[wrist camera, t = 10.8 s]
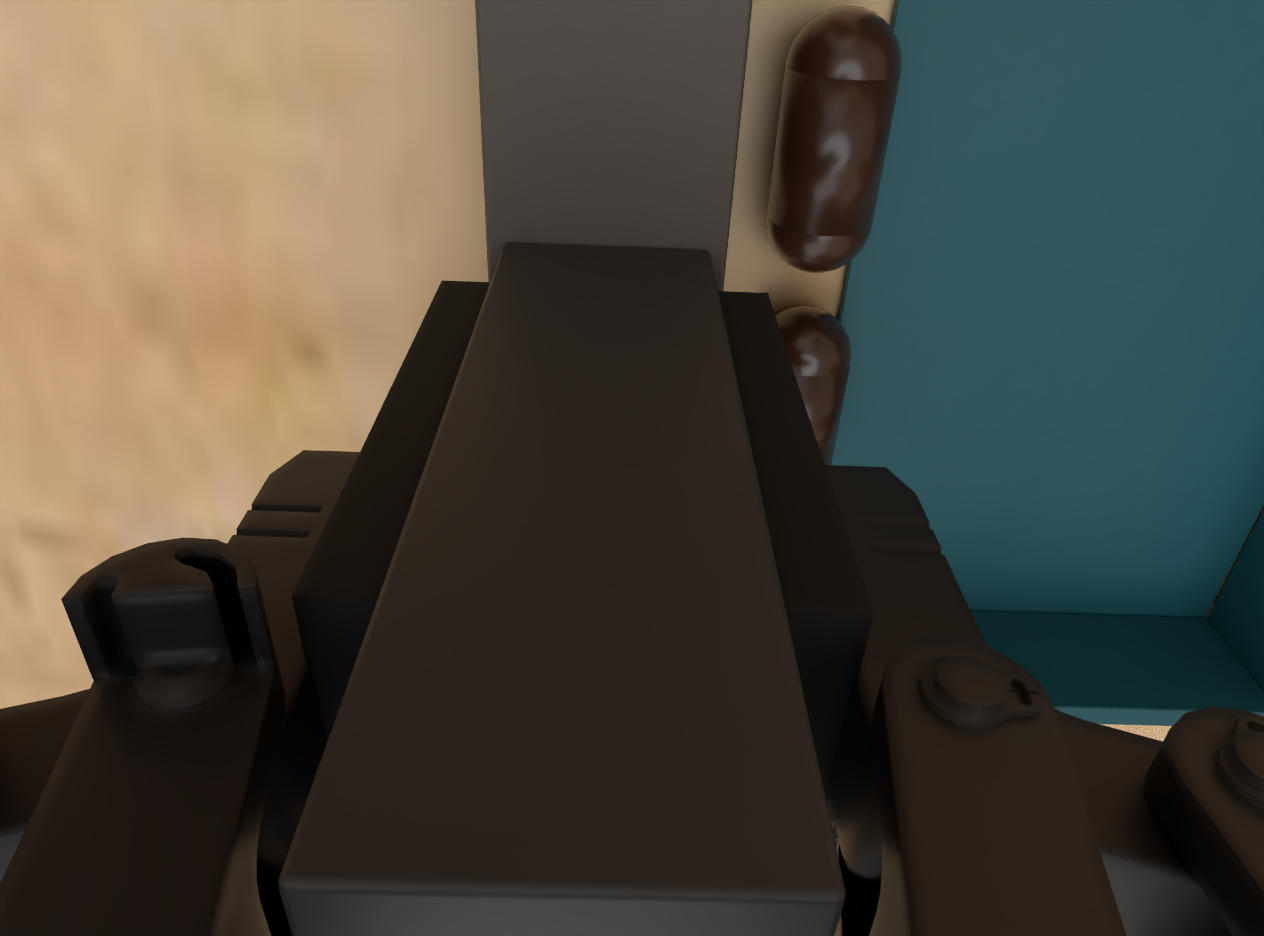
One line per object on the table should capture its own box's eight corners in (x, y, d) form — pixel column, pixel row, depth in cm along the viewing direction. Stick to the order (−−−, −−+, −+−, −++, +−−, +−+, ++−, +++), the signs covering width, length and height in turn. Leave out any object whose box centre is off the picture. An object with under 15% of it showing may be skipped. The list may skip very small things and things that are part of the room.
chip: (746, 525, 18) (833, 523, 18) (772, 330, 16) (872, 330, 16) (729, 475, 19) (810, 474, 20) (750, 291, 17) (843, 291, 17)
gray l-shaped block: (521, 535, 20) (382, 1346, 9) (499, -123, 13) (-137, -157, 2) (681, 540, 20) (742, 1350, 9) (738, -112, 13) (1241, -92, 2)
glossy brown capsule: (767, 286, 15) (873, 290, 15) (802, 10, 13) (926, 16, 13) (755, 250, 17) (851, 254, 17) (785, -3, 15) (896, 2, 15)
